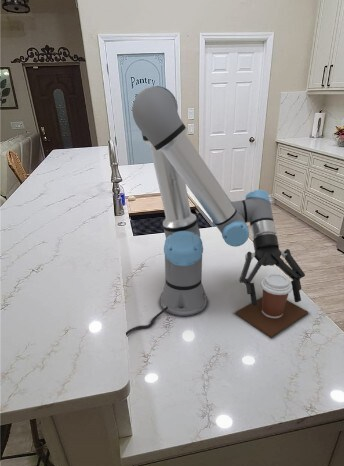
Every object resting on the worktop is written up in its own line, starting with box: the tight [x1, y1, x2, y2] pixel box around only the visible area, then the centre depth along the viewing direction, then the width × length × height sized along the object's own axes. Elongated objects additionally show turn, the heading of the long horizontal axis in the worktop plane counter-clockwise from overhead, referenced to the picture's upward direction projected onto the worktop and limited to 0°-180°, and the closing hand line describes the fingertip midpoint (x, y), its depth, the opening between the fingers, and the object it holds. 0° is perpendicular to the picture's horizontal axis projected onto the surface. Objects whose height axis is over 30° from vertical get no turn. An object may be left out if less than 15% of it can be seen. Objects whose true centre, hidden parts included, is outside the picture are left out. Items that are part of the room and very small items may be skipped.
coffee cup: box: [260, 273, 293, 318], centre depth 100 cm, size 9×9×12 cm
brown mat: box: [234, 296, 309, 339], centre depth 103 cm, size 18×14×1 cm
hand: (276, 303), depth 99 cm, fingers open, 13 cm apart
